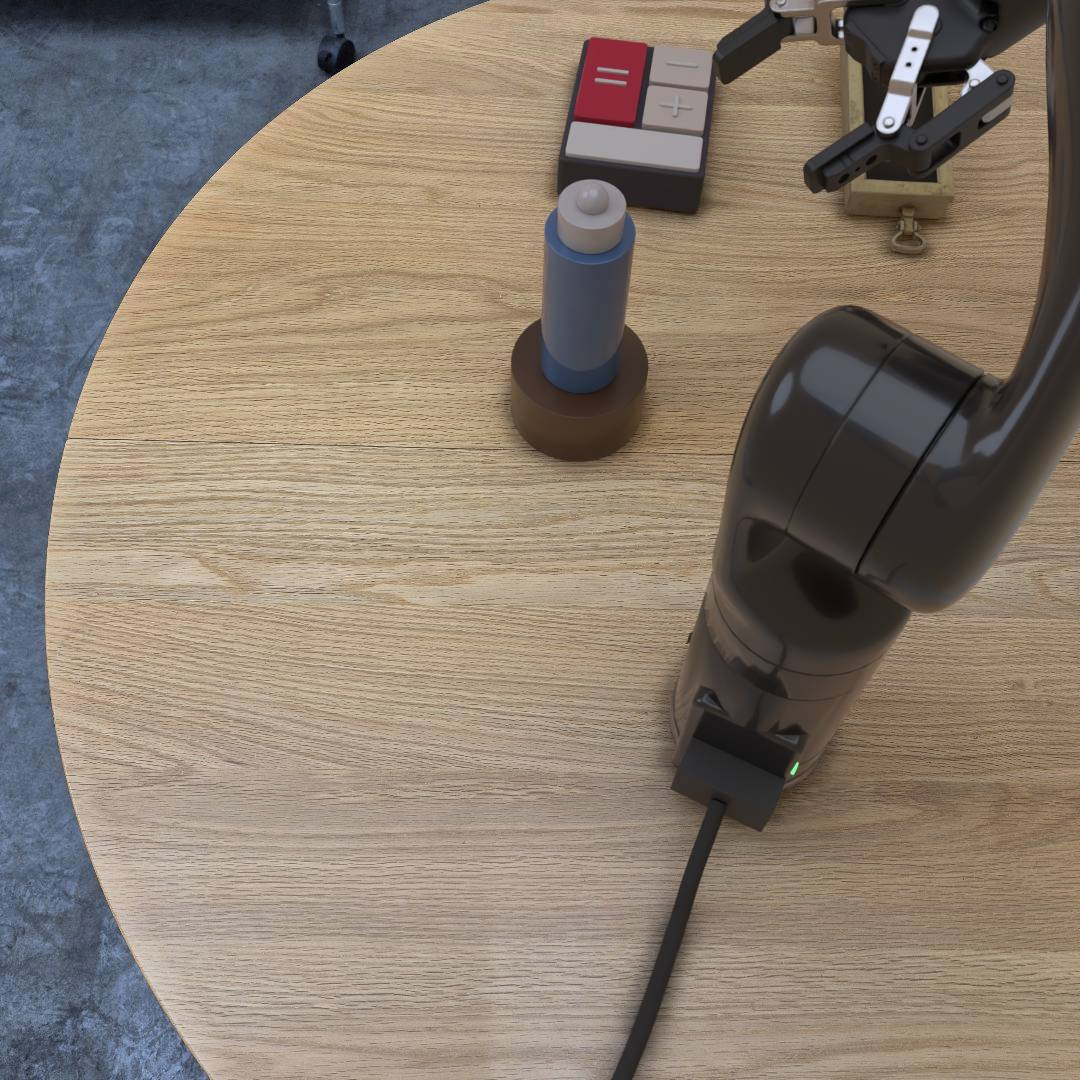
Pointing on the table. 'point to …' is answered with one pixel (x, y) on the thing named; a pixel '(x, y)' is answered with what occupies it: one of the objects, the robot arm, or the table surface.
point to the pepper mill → (585, 286)
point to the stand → (576, 403)
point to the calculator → (640, 122)
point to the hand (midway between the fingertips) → (761, 124)
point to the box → (888, 181)
